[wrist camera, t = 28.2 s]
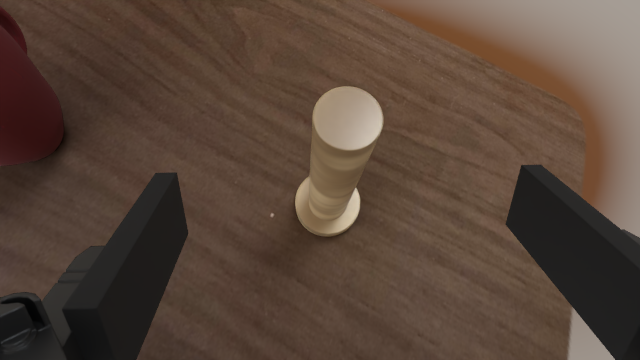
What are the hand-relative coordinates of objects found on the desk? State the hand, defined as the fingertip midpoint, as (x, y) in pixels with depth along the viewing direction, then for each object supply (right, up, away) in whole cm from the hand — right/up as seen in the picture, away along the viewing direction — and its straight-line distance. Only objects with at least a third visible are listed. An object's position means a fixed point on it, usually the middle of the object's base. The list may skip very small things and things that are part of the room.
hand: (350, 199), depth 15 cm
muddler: (-1, -1, +12) cm, 12 cm away
